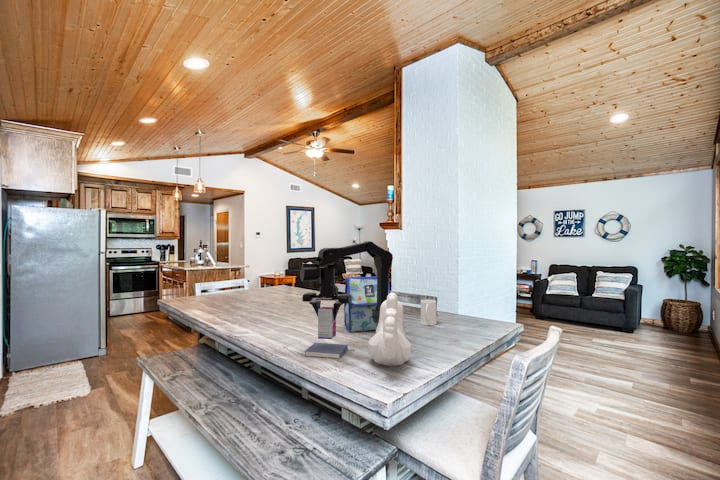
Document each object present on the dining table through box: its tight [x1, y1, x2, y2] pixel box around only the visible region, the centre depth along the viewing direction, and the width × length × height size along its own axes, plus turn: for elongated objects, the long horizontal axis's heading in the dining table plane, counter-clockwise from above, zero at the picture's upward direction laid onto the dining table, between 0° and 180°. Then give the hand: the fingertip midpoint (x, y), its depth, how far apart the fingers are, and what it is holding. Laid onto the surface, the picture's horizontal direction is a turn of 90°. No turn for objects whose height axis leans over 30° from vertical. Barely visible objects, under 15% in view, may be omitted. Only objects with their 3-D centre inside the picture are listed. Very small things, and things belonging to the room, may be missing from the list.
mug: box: [419, 299, 437, 326], centre depth 182 cm, size 12×8×12 cm
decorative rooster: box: [367, 292, 412, 367], centre depth 122 cm, size 25×16×25 cm, turn 161°
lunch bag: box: [343, 276, 392, 333], centre depth 173 cm, size 22×17×26 cm
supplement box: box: [317, 306, 337, 340], centre depth 136 cm, size 6×6×12 cm
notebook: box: [304, 342, 349, 360], centre depth 136 cm, size 14×11×2 cm
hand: (327, 319), depth 136 cm, fingers closed on supplement box, 6 cm apart
